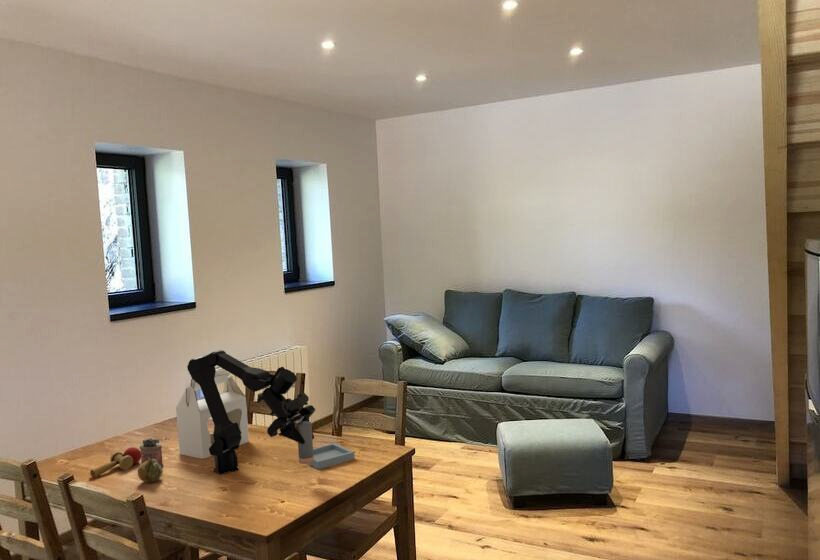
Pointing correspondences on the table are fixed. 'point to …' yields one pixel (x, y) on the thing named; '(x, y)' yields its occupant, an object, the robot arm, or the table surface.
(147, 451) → the lighter
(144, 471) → the olive green lumpy ball
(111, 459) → the kendama
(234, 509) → the table surface
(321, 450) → the tray
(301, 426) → the grey rounded peg
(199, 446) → the gable box
